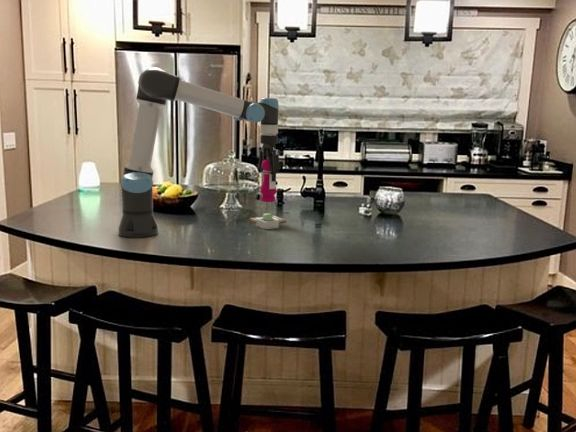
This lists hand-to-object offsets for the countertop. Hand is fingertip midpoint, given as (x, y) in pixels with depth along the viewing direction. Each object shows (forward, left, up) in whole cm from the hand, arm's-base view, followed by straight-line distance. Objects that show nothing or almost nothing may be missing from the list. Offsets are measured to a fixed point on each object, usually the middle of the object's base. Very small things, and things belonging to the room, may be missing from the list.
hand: (268, 187), depth 252 cm
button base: (-6, -9, -15) cm, 19 cm away
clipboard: (0, 0, -15) cm, 15 cm away
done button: (-6, -9, -13) cm, 17 cm away
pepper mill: (0, 0, -6) cm, 6 cm away
